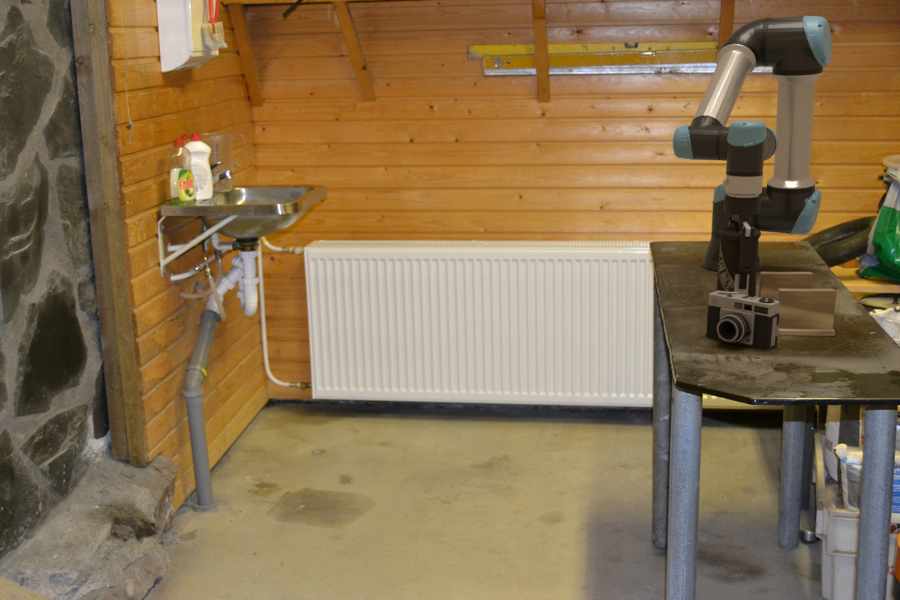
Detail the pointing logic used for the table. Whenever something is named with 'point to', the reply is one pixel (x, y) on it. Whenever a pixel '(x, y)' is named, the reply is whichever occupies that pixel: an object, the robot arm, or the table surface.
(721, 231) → the container
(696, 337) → the table surface
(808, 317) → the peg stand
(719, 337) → the camera
